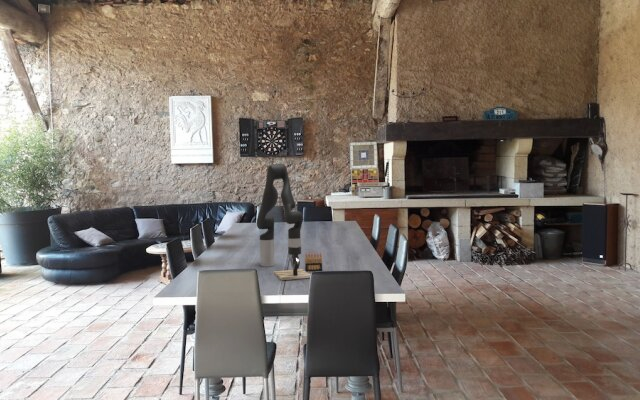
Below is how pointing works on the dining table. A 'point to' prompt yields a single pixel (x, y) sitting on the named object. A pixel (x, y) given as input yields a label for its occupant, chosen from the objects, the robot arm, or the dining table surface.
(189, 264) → the dining table surface
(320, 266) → the ammunition clip
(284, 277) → the birch plank
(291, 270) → the oak board
